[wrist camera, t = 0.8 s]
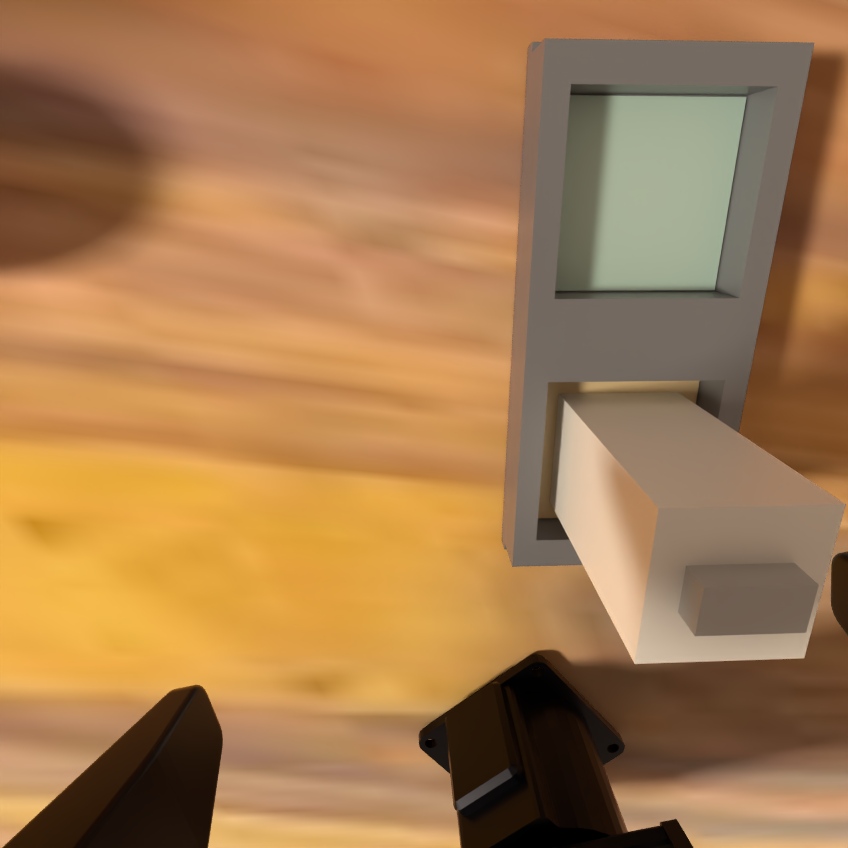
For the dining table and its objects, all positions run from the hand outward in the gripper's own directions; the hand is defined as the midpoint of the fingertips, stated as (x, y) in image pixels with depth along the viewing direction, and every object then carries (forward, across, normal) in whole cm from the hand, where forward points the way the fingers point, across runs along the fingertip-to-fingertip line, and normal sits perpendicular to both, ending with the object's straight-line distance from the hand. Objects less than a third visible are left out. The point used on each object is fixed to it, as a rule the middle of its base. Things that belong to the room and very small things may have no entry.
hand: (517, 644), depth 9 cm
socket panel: (+13, -6, -1) cm, 14 cm away
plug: (+12, -5, +3) cm, 14 cm away
